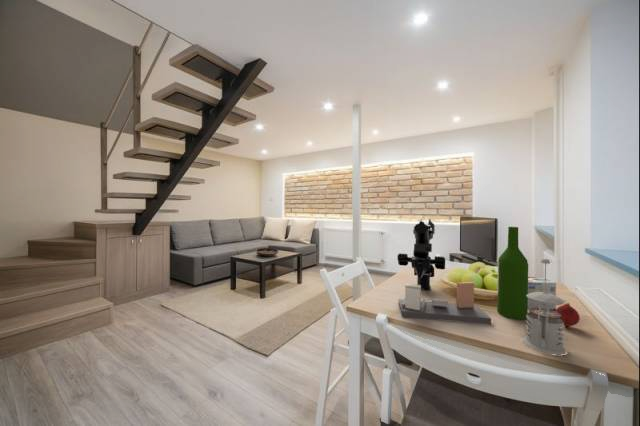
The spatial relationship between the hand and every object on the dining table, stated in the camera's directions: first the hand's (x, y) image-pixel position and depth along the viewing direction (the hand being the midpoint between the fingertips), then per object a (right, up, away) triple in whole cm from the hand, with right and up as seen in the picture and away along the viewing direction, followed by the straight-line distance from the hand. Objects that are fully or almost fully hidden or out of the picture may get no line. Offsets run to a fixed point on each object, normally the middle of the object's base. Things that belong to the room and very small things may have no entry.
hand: (419, 278), depth 101 cm
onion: (+42, -11, -19) cm, 47 cm away
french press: (+23, -12, -31) cm, 40 cm away
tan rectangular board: (+14, -9, -8) cm, 18 cm away
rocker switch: (+5, -9, -8) cm, 13 cm away
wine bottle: (+31, -11, -9) cm, 34 cm away
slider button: (-6, -9, -9) cm, 14 cm away
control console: (+5, -11, -8) cm, 14 cm away
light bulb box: (+47, -11, -1) cm, 48 cm away
